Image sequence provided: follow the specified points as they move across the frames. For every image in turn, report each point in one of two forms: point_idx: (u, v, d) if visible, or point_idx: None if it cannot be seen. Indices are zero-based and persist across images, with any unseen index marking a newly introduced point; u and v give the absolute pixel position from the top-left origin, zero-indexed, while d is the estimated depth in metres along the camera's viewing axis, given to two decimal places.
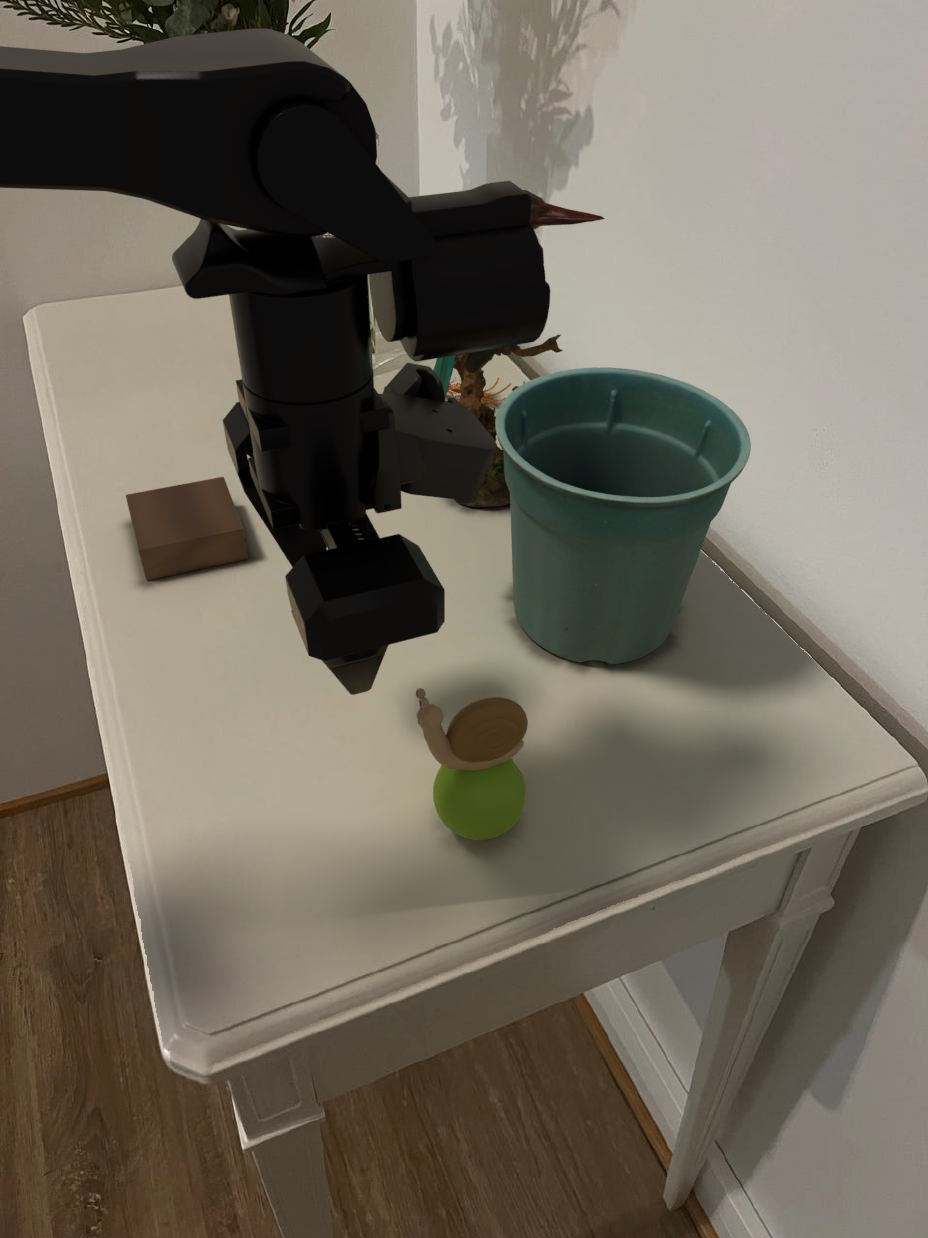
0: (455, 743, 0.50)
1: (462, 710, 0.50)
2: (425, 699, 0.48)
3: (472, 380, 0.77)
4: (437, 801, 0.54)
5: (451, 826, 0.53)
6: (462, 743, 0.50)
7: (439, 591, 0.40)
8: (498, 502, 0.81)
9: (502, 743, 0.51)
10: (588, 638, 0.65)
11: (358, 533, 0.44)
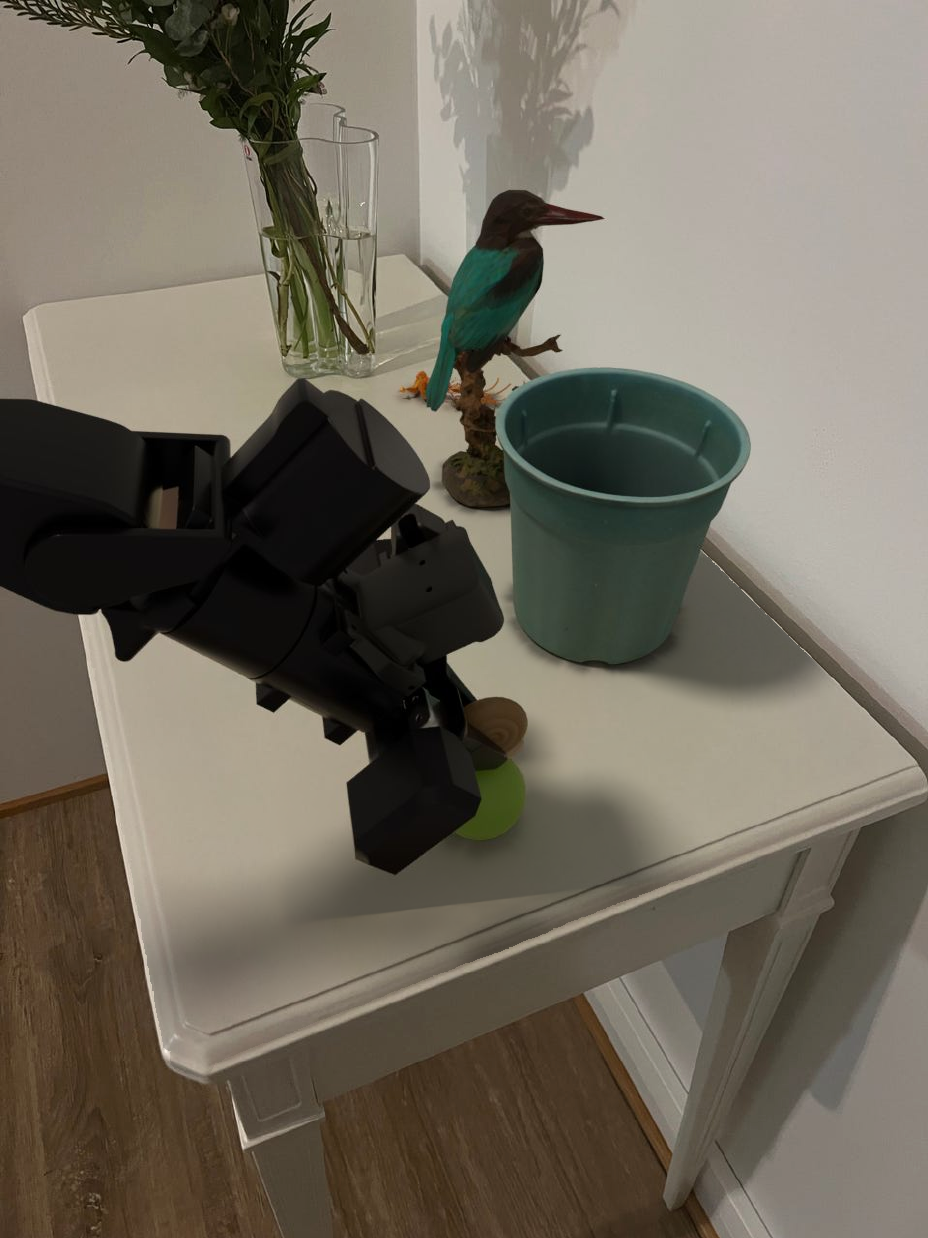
0: None
1: None
2: None
3: (472, 380, 0.77)
4: None
5: None
6: None
7: (447, 789, 0.39)
8: (498, 502, 0.81)
9: (502, 743, 0.51)
10: (588, 638, 0.65)
11: None
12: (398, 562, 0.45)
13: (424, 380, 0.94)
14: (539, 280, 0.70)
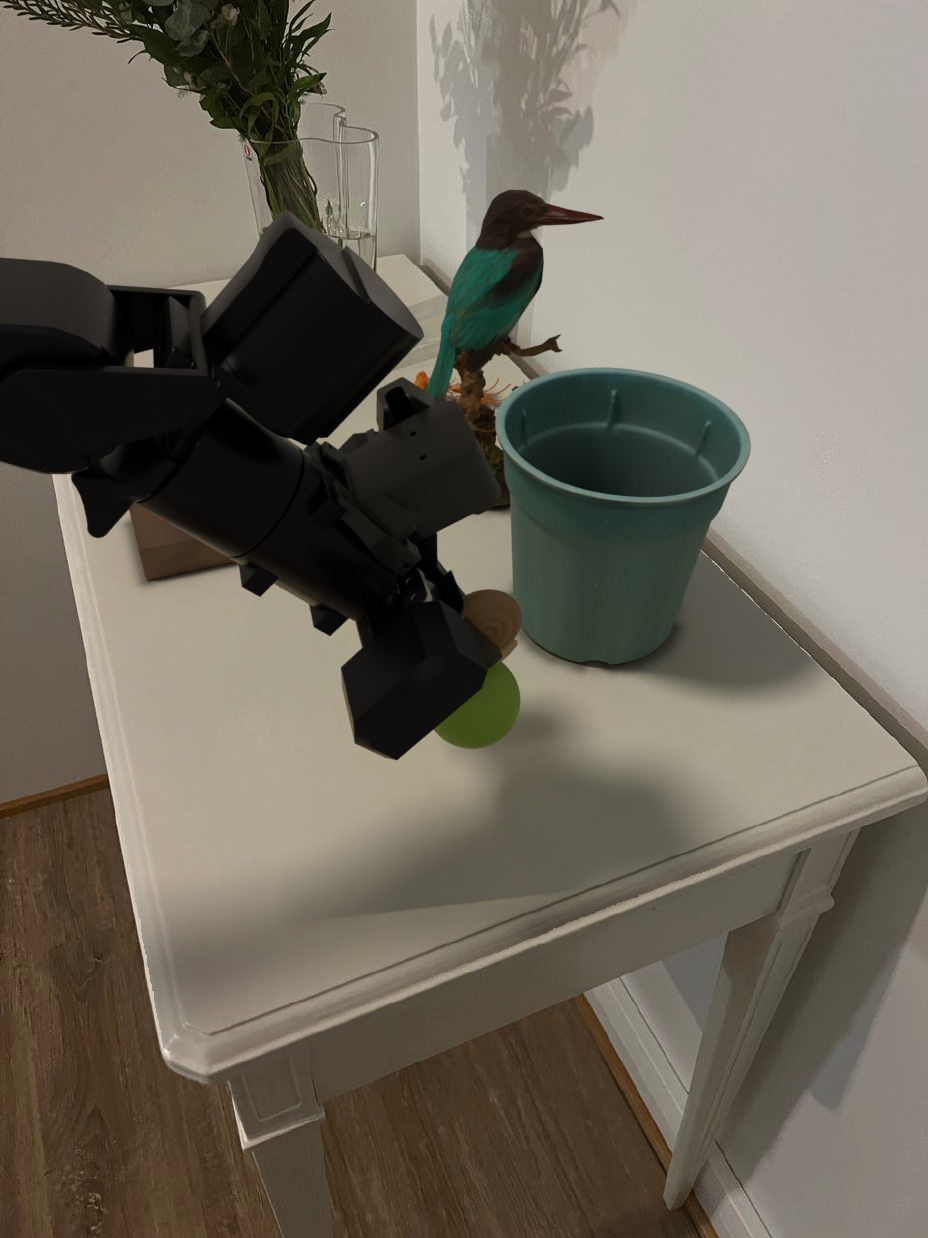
0: None
1: None
2: None
3: (472, 380, 0.77)
4: None
5: (445, 733, 0.51)
6: None
7: (452, 658, 0.37)
8: (498, 502, 0.81)
9: (496, 638, 0.49)
10: (588, 638, 0.65)
11: None
12: (387, 436, 0.42)
13: (424, 380, 0.94)
14: (539, 280, 0.70)
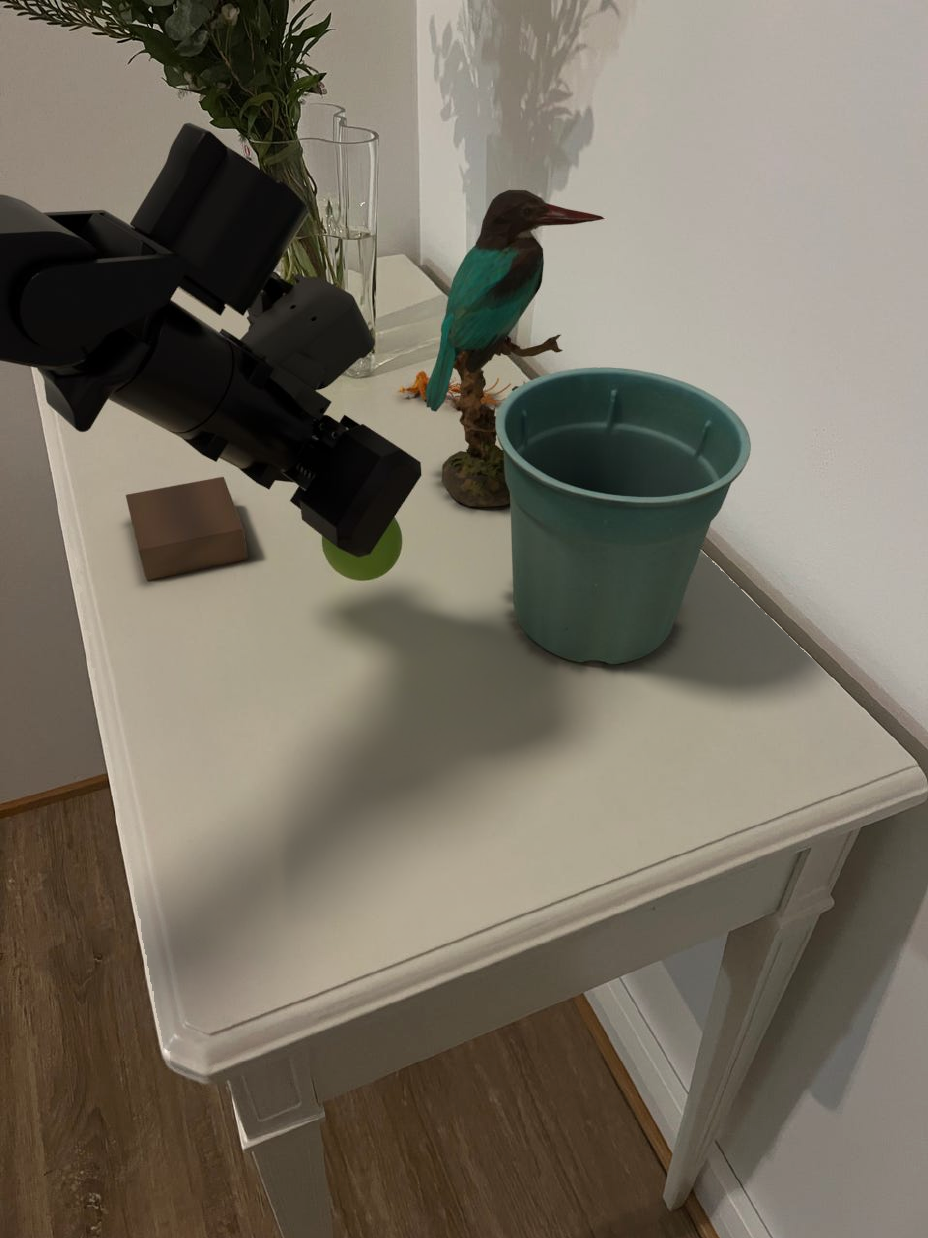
0: None
1: None
2: (317, 438, 0.55)
3: (472, 380, 0.77)
4: (336, 552, 0.61)
5: (355, 568, 0.62)
6: None
7: (399, 453, 0.49)
8: (498, 502, 0.81)
9: None
10: (588, 638, 0.65)
11: None
12: (269, 315, 0.52)
13: (424, 380, 0.94)
14: (539, 280, 0.70)
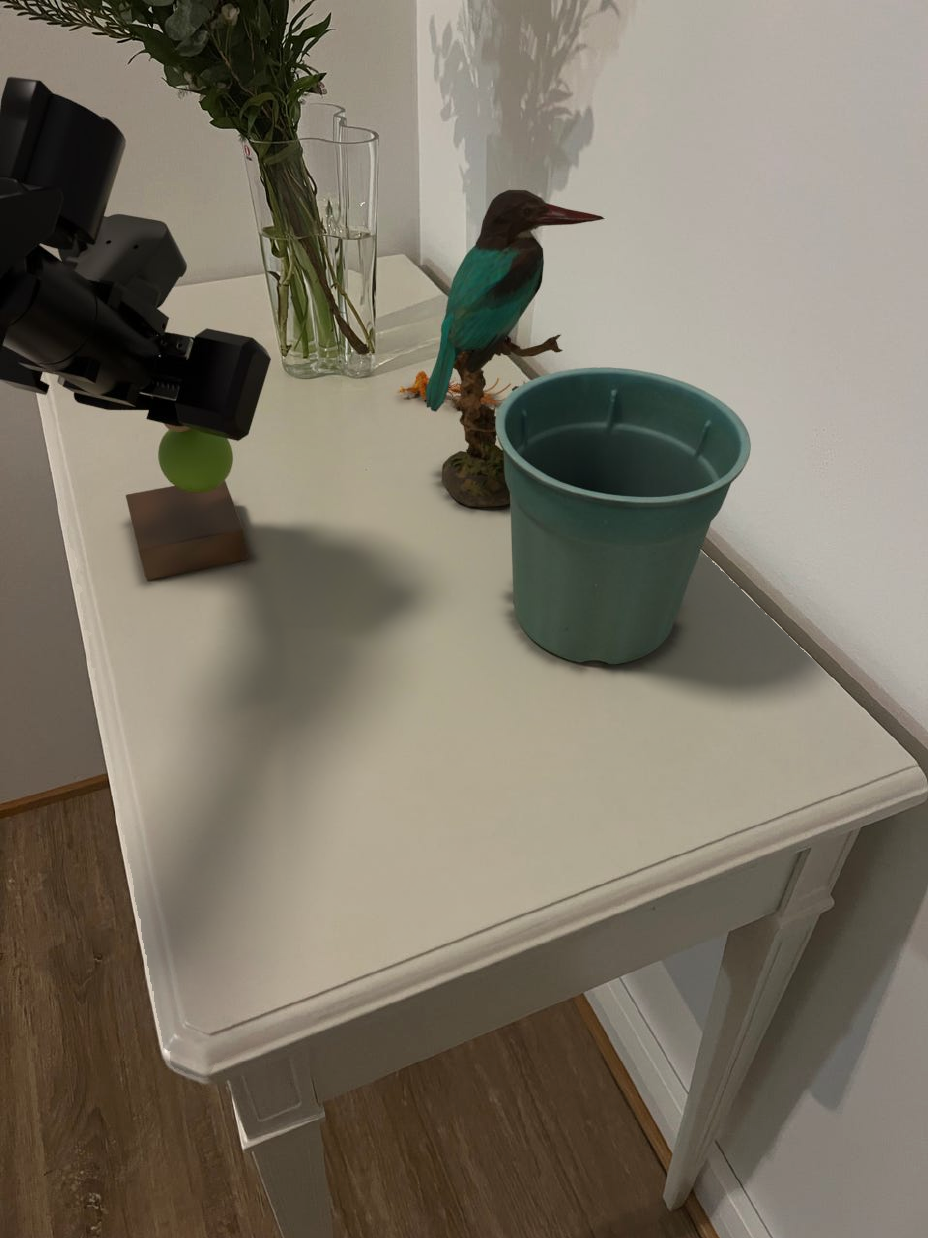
0: None
1: None
2: None
3: (472, 380, 0.77)
4: (182, 468, 0.68)
5: (202, 477, 0.69)
6: None
7: (252, 341, 0.58)
8: (498, 502, 0.81)
9: None
10: (588, 638, 0.65)
11: None
12: (89, 253, 0.58)
13: (424, 380, 0.94)
14: (539, 280, 0.70)
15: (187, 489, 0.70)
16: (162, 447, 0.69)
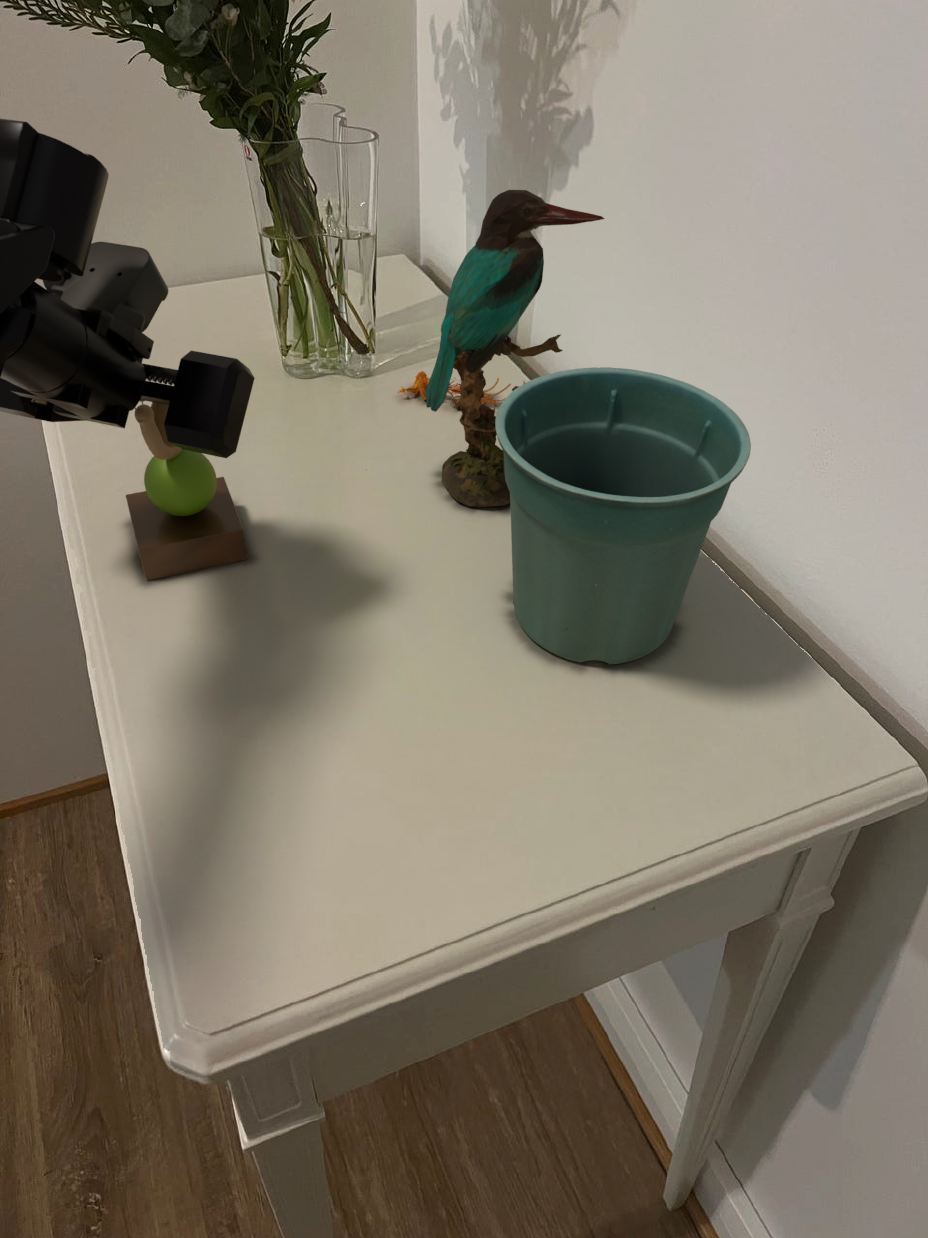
0: (163, 431, 0.68)
1: (153, 405, 0.67)
2: None
3: (472, 380, 0.77)
4: (169, 494, 0.71)
5: (189, 502, 0.71)
6: None
7: (237, 362, 0.60)
8: (498, 502, 0.81)
9: None
10: (588, 638, 0.65)
11: (154, 378, 0.62)
12: (73, 281, 0.59)
13: (424, 380, 0.94)
14: (539, 280, 0.70)
15: (173, 513, 0.72)
16: (148, 473, 0.71)
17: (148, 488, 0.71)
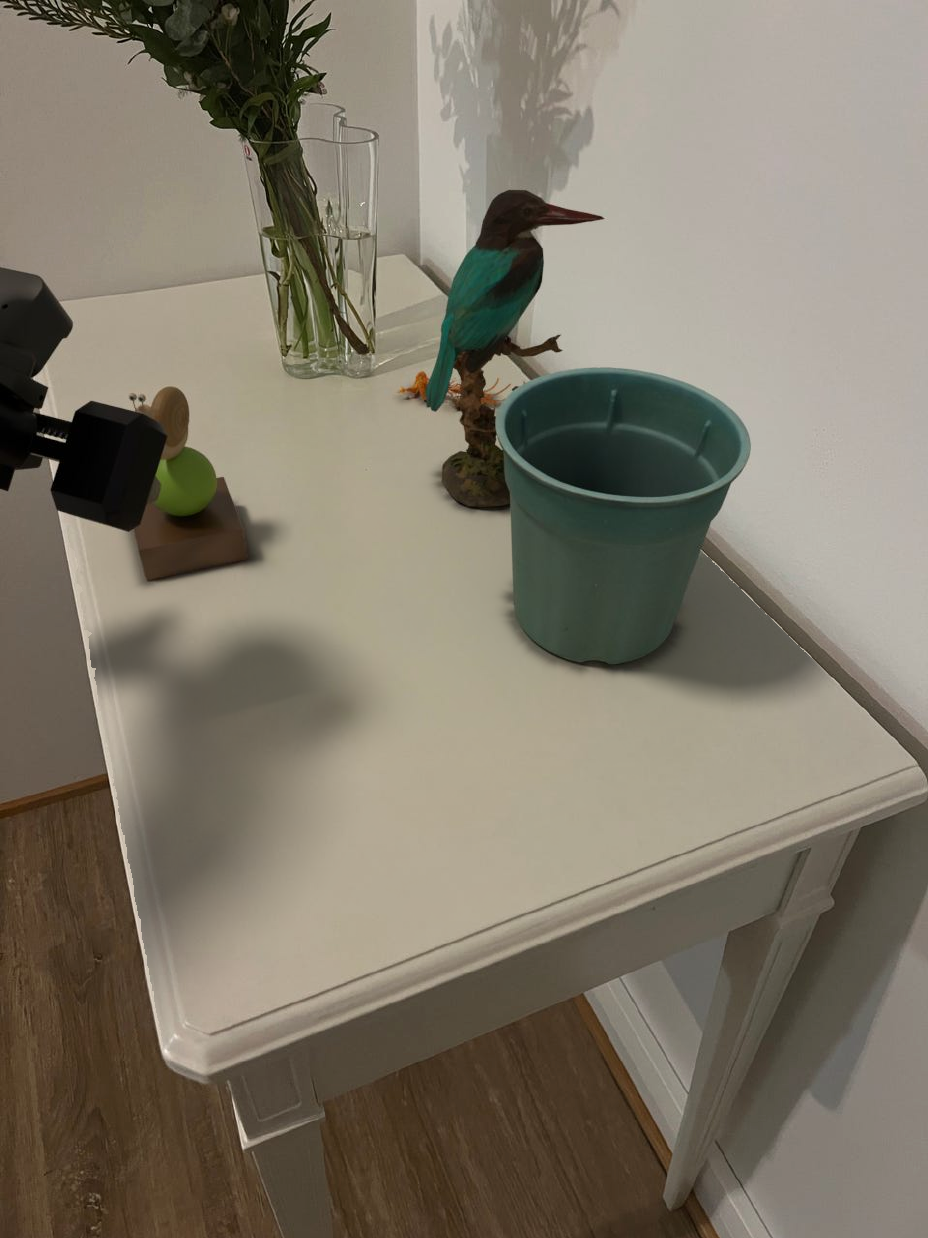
0: None
1: (153, 405, 0.67)
2: (141, 394, 0.64)
3: (472, 380, 0.77)
4: (169, 494, 0.71)
5: (189, 502, 0.71)
6: (167, 428, 0.68)
7: (142, 418, 0.49)
8: (498, 502, 0.81)
9: (184, 419, 0.70)
10: (588, 638, 0.65)
11: (48, 431, 0.51)
12: None
13: (424, 380, 0.94)
14: (539, 280, 0.70)
15: (173, 513, 0.72)
16: None
17: None
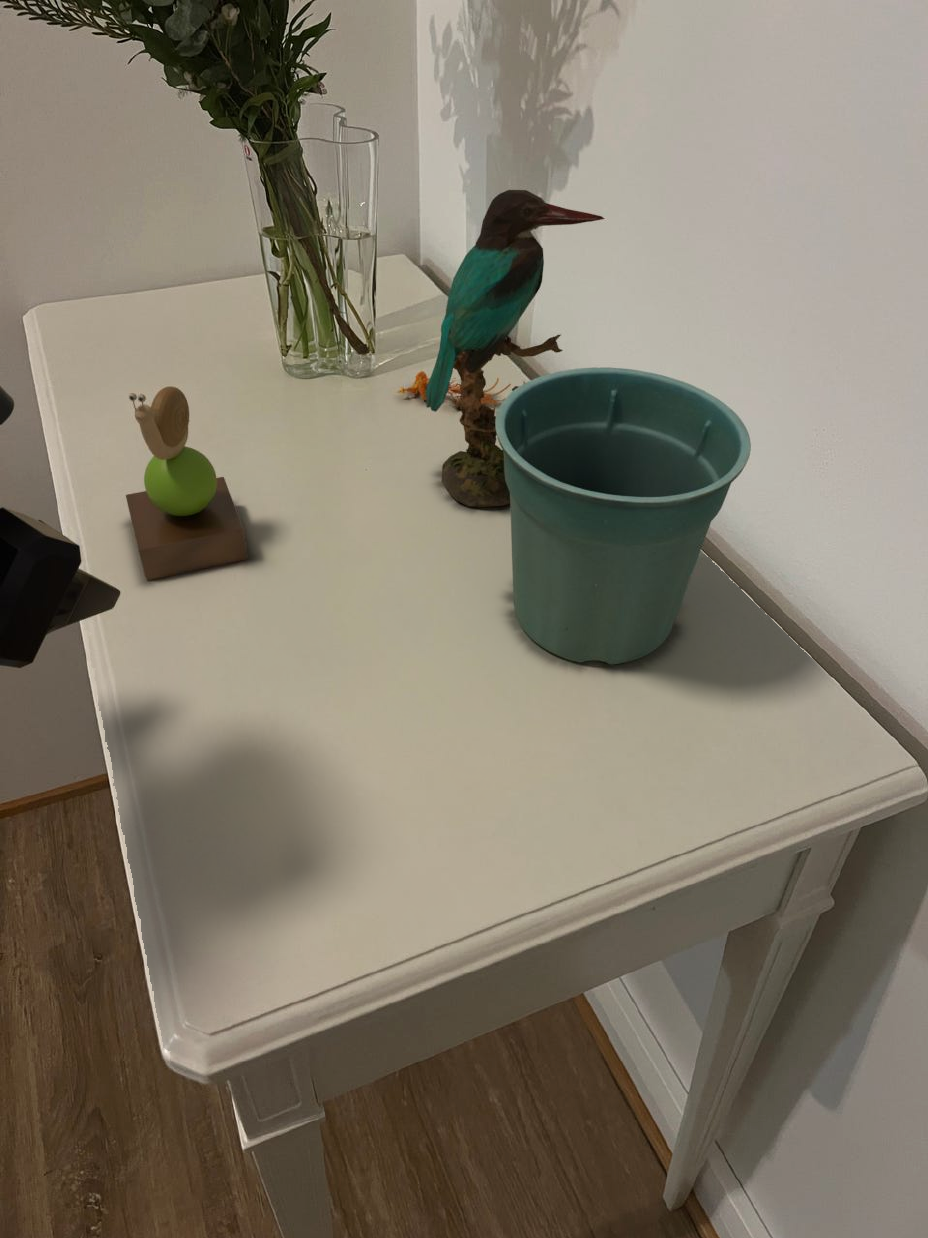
0: (163, 431, 0.68)
1: (153, 405, 0.67)
2: (141, 394, 0.64)
3: (472, 380, 0.77)
4: (169, 494, 0.71)
5: (189, 502, 0.71)
6: (167, 428, 0.68)
7: (43, 542, 0.40)
8: (498, 502, 0.81)
9: (184, 419, 0.70)
10: (588, 638, 0.65)
11: None
12: None
13: (424, 380, 0.94)
14: (539, 280, 0.70)
15: (173, 513, 0.72)
16: (148, 473, 0.71)
17: (148, 488, 0.71)
